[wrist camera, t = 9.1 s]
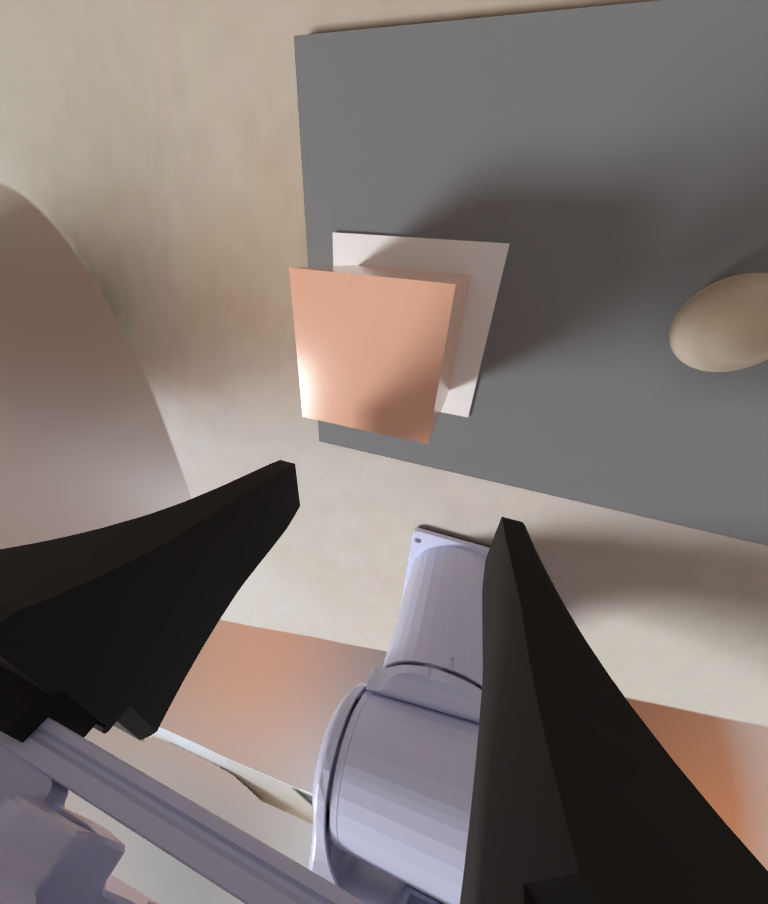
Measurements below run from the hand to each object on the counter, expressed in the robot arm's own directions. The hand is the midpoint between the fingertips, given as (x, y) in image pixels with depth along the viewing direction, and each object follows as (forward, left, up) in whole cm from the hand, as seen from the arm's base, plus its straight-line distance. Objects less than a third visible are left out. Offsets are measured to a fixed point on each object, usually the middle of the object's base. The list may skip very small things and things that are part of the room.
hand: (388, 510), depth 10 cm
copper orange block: (+4, +2, -9) cm, 10 cm away
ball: (+6, -10, -9) cm, 15 cm away
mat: (+5, -6, -9) cm, 12 cm away
